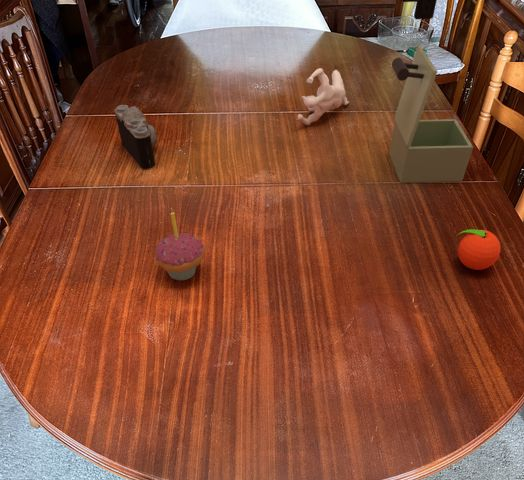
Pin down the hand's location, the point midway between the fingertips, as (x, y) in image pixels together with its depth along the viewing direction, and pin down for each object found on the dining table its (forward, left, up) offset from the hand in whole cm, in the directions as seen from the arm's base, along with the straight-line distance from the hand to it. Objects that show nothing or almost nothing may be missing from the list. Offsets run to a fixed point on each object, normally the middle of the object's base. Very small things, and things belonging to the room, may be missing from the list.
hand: (416, 9), depth 91 cm
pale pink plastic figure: (+11, -26, -31) cm, 42 cm away
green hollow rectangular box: (-9, 0, -31) cm, 32 cm away
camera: (+55, -9, -31) cm, 64 cm away
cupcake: (+43, +34, -31) cm, 63 cm away
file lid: (-3, 0, -15) cm, 16 cm away
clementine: (-9, +34, -31) cm, 47 cm away
